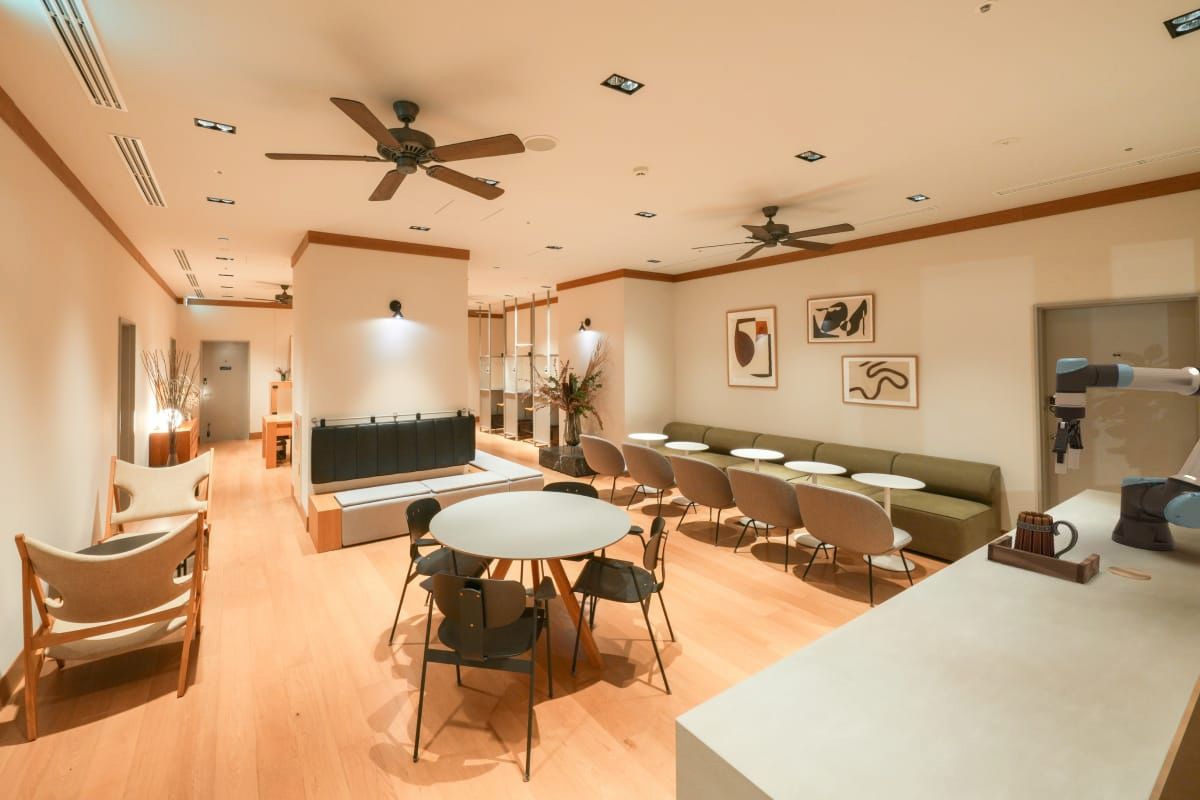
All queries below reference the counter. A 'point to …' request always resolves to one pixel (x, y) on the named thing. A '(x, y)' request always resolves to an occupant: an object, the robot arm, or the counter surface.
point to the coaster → (1129, 573)
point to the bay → (1042, 562)
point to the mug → (1041, 534)
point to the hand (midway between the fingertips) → (1067, 471)
